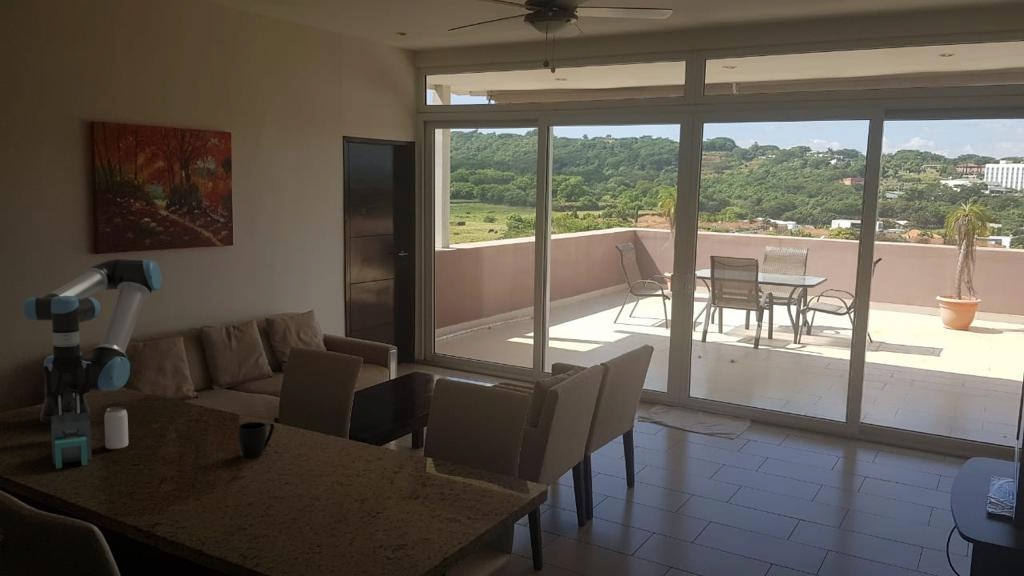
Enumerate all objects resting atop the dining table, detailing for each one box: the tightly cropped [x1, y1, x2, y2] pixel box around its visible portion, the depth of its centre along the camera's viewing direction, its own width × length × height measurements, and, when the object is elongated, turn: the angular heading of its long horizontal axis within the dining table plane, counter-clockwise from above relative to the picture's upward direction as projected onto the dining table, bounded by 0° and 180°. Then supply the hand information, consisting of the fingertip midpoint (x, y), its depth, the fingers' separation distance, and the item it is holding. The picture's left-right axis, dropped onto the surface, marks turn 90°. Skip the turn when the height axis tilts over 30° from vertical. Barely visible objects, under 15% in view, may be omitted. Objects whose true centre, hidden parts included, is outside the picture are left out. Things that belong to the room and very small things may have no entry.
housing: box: [50, 412, 93, 465], centre depth 235 cm, size 10×10×12 cm
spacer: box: [55, 436, 88, 470], centre depth 229 cm, size 4×8×8 cm, turn 120°
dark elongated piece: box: [61, 390, 78, 438], centre depth 244 cm, size 26×4×9 cm, turn 30°
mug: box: [237, 421, 275, 460], centre depth 242 cm, size 8×12×10 cm
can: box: [104, 406, 129, 450], centre depth 246 cm, size 6×6×12 cm
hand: (69, 415), depth 254 cm, fingers closed on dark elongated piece, 4 cm apart
